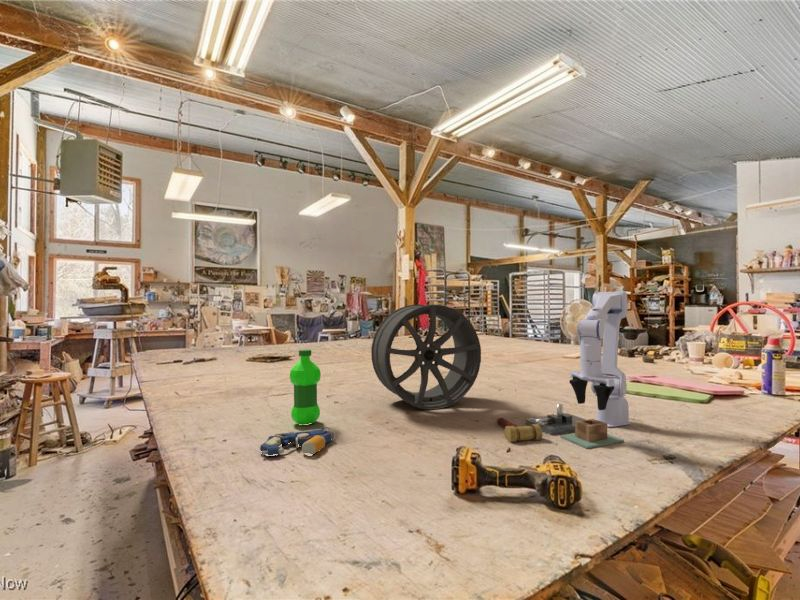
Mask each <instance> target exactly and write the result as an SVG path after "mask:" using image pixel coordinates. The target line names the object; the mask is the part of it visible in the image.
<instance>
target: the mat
mask: <svg viewBox="0 0 800 600" xmlns="http://www.w3.org/2000/svg"><path fill="white" fill-rule="evenodd" d="M560 438H561V439H563V440H565V441H568V442H570V443H573V444H575V445H577V446H578V447H582V448H584V449H587V450H588V449H591V448H592V449H594V448H599V447H604V446H603V445H605V446H609V444H610V445H615V444H614V443H616V444H620V443H619V442H621V443H624V442H625V439H623V438H621V437H620V438H619V437H617V436H615V435H611V434H608V433H607V439H605V440H599V441H593V442H587V441H585V440H582V439H580V438H577V437H575V432H572V433H568V434H562V435H561V434H560Z"/></svg>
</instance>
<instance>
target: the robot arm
mask: <svg viewBox="0 0 800 600" xmlns="http://www.w3.org/2000/svg"><path fill="white" fill-rule="evenodd" d="M627 315H628V295H627V292H626V290H625V291H624V290H622V291H595V292H594V293H593V294H592V308H591V309H589V310H588V312H587V314H586V316H585V317H584V319H581V320H579V321H577V324H576V325H577V326H576V334H577V339H578V345H579V364H580V365H579V368H580V371H576V370H572V371H571V370H570V371H569V378H571V379H570V380H569V381H568V382H569V384H570V385H571V387H572V390H573V391H574V394H575V397H576V401H577V404H579V405H581V404H582V405H583V404H585V403H586V394H587V393H586V392H587V386H588V383H589V382H590V389H591V392H592V393H593V394H594V396H595V397H596V418H594V419H595V420H598V421H601V422H604V423H607V428H616V427H621V426H626V425H627V426H628V425H631V424H632V422H630V419H629V417H630V416H629V415H630V414H629V411H630V410H629V406H630V405H629V402H628V399H627V398H626V397H625V396H626V394H627V389H628V388H627V386H628V385H627V375H626V374H625V372H624V371H622V370H621V369H620V368H618V360H619V359H618V357H619V342H620V341H619V337H620V325H621V321H622V320H623V319H624V318H627Z"/></svg>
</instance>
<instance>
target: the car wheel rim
mask: <svg viewBox="0 0 800 600" xmlns="http://www.w3.org/2000/svg"><path fill="white" fill-rule="evenodd" d="M422 315H429V327H428V331H427V335H426V336H425V338H424V341H423V339H422V337H421V336H420V334H419V332H417V331H416V329H415V328H414V326H412V324H411V323H410V322H409V321H410V320H413V319H414V318H416V317H418V316H422ZM437 318H438V319H440V320H441V321H442V322H443V323H444V324H445V326H446V327H447V328H448V330H446V332H445V333H443V334H442V335H441V336H439V337H438V338H436V339H435V340H434V338H435V335H436V329H437ZM402 327H405V328H406V329H407V330H408V332H409V334H410V335H411V336H412V338H413V341H414V342H415V345H416V348H415V349H397V348H392V345H393V342H394V340H395V337H396V336H397V334H398V332H399V331H400V329H401V328H402ZM451 337H452V339H453V340H452V341H453V346H454V347H442V348H441V346H443V345H444V344H445V343H446V342H448V340H450V338H451ZM481 347H482V346H481V343H480V338H479V336H478V333H477V330H476V329H475V327H474V325H473V324H472V323H471V321H470V320H469V319H468V318H467V317H466V316H465V315H464V314H463V313H461V312H459V311H458V310H456V309H455V308H452V307H449V306H447V305H441V304H411V305H410V304H409V305H404V306H402V307H399V308H398V309H395V310H393V311H392V312H391V313H389V314H388V315H387V316H386V317H385V318H384V319H383V321H382V322H381V323H380V324H379V326H378V327H377V329H376V331H375V333H374V336H373V339H372V343H371V350H370V351H371V363H372V367H373V371H374V372H375V375H376V377H377V379H378V380H379V382H380V383H381V384H382V385H383V386H384V387H385V388H386V389H387V390H388V391H390V392H391V393H393V394H395V395H396V396H397V397H399V398H400V399H401V400H402V401H403V402H405V403H407V404H408V405H411V406H413V407H414V408H418V409H421V410H431V411H433V410H432V409H434V410H441V409H444V408H447V407H450V406H452V405H454V404H456V403H457V402H458V401H460V400H461V399H462V398H464V397H465V396H466V394H467V393H468V392H469V391H470V390H471V389H472V387H473V386H474V384H475V382H476V380H477V379H478V375H479V372H480V367H481V363H482V360H481V359H482V348H481ZM436 351H437V352H436ZM391 354H392V355H399V356H406V357H413V358H414V360H413V362H412V364H411V365H410V366H409V368H407V370H406V371H405V372H403V373H402V374H401V375H399V376H398V377H396V376H395V374H394V371H393V369H392V363H391ZM448 355H453V361H452V363H451V362H448V361H447V360H445V359H444V358H443V357H444V356H448ZM438 366H441V367H443V368H445V369H447V370H448V371H449V372H447V374H446V376H445V377H443V375H442V373H441V371H440V369H439V367H438ZM419 368H420V385H419V390H418V392H415V391H409V390H407V389H405V388H404V387H403V386H402V385H401V383H402V382H404V381H405V380H407V379H408V378H410V377H411V376H412V375H413V374H415V373H416V372H417V371H418V370H419ZM429 371H430V372H431V374H432V375H433V377H434V378H435V379H436V380H437V383H438V384H436V385H435V386H434V387H432V388H430V389H428V390H427V386H428V382H429Z"/></svg>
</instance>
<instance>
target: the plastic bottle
mask: <svg viewBox="0 0 800 600" xmlns="http://www.w3.org/2000/svg"><path fill="white" fill-rule="evenodd" d="M298 356H299V358H300V360H299V361H298V362H297V363H296V364H294V365H293V366H292V368H291V369H290V372H289V380H290V382H291V384H292V385H293V406H292V408H291V413H290V414H291V415H290V416H291V417H290V418H291V419H292V421H293V422H295V423H296V424H297V423H298V424H309V423H313V422H314V423H316V422H317V421H318V419H319V418H320V416H321V410H320V406H319V405H318V383H319V382H320V381H321V370H320V367H319V366H318V365H317V364H316V363H315V362H313V361H312V360H311V356H312V349H309V348H308V349H305V348H304V349H299V350H298ZM314 423H313V424H314ZM298 424H297V425H298Z"/></svg>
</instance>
